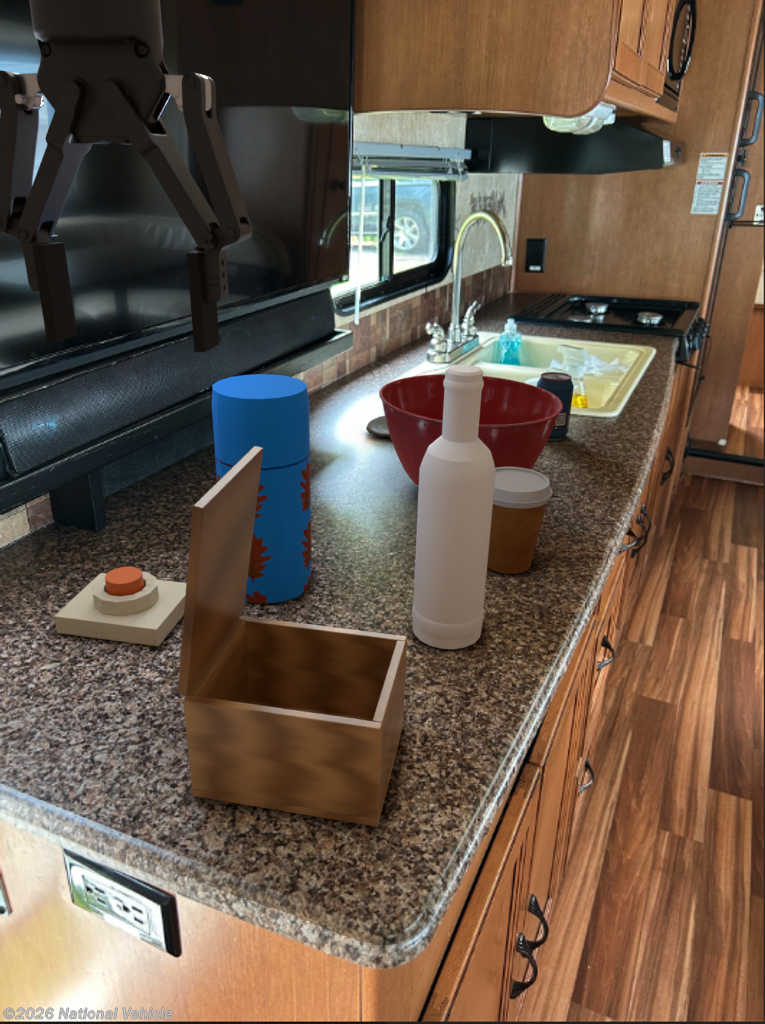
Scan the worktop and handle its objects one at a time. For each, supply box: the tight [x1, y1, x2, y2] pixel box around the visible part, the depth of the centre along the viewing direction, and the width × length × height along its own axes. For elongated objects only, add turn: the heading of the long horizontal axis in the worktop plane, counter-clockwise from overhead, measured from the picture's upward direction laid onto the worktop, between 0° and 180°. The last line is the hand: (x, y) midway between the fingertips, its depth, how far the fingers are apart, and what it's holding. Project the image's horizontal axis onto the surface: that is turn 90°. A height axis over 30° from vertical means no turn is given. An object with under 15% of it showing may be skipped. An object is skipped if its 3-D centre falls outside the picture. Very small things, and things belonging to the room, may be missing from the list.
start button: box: [105, 566, 144, 596], centre depth 86 cm, size 4×4×2 cm
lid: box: [365, 415, 391, 438], centre depth 149 cm, size 11×10×5 cm
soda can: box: [536, 371, 575, 442], centre depth 148 cm, size 7×7×12 cm
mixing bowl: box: [378, 373, 563, 487], centre depth 122 cm, size 28×28×16 cm
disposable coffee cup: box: [487, 467, 553, 575], centre depth 100 cm, size 10×10×12 cm
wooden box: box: [182, 615, 408, 828], centre depth 66 cm, size 16×13×10 cm
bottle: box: [411, 364, 496, 650], centre depth 81 cm, size 8×8×30 cm
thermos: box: [211, 373, 313, 605], centre depth 91 cm, size 11×11×25 cm
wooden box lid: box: [177, 446, 263, 697], centre depth 61 cm, size 16×13×1 cm
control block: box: [53, 571, 187, 647], centre depth 87 cm, size 12×10×4 cm
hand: (133, 343), depth 55 cm, fingers open, 10 cm apart
